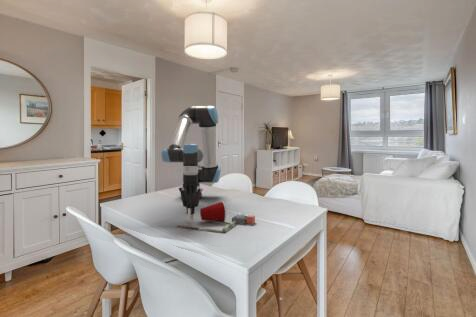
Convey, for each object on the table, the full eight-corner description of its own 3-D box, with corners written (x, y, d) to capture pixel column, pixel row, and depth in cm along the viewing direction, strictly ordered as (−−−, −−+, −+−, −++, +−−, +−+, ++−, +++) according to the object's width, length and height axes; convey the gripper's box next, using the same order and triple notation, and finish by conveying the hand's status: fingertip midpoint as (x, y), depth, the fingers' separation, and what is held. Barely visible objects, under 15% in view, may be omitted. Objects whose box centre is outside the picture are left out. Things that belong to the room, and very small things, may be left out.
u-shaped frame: (192, 220, 132) (192, 216, 132) (236, 224, 123) (236, 220, 123) (176, 227, 118) (176, 223, 118) (224, 233, 109) (224, 228, 109)
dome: (237, 220, 130) (237, 211, 130) (246, 221, 128) (246, 211, 128) (234, 222, 126) (234, 213, 126) (243, 223, 124) (243, 213, 124)
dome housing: (236, 220, 132) (236, 213, 132) (256, 222, 128) (256, 215, 128) (231, 223, 125) (231, 216, 125) (252, 225, 121) (252, 218, 121)
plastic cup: (203, 230, 123) (225, 225, 127) (203, 213, 118) (227, 209, 122) (198, 215, 132) (220, 212, 136) (199, 199, 127) (221, 196, 131)
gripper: (175, 174, 123) (175, 221, 123) (197, 175, 118) (197, 223, 118) (183, 173, 130) (183, 217, 130) (205, 174, 125) (205, 220, 125)
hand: (190, 220), depth 124 cm, fingers closed
